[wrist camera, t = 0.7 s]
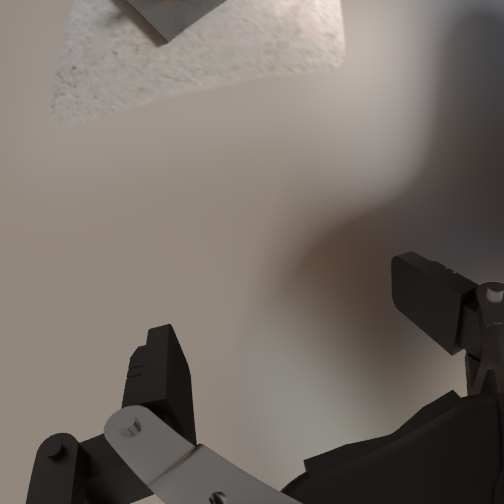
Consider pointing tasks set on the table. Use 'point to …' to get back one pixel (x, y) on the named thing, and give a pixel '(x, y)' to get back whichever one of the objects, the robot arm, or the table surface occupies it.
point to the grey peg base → (173, 14)
